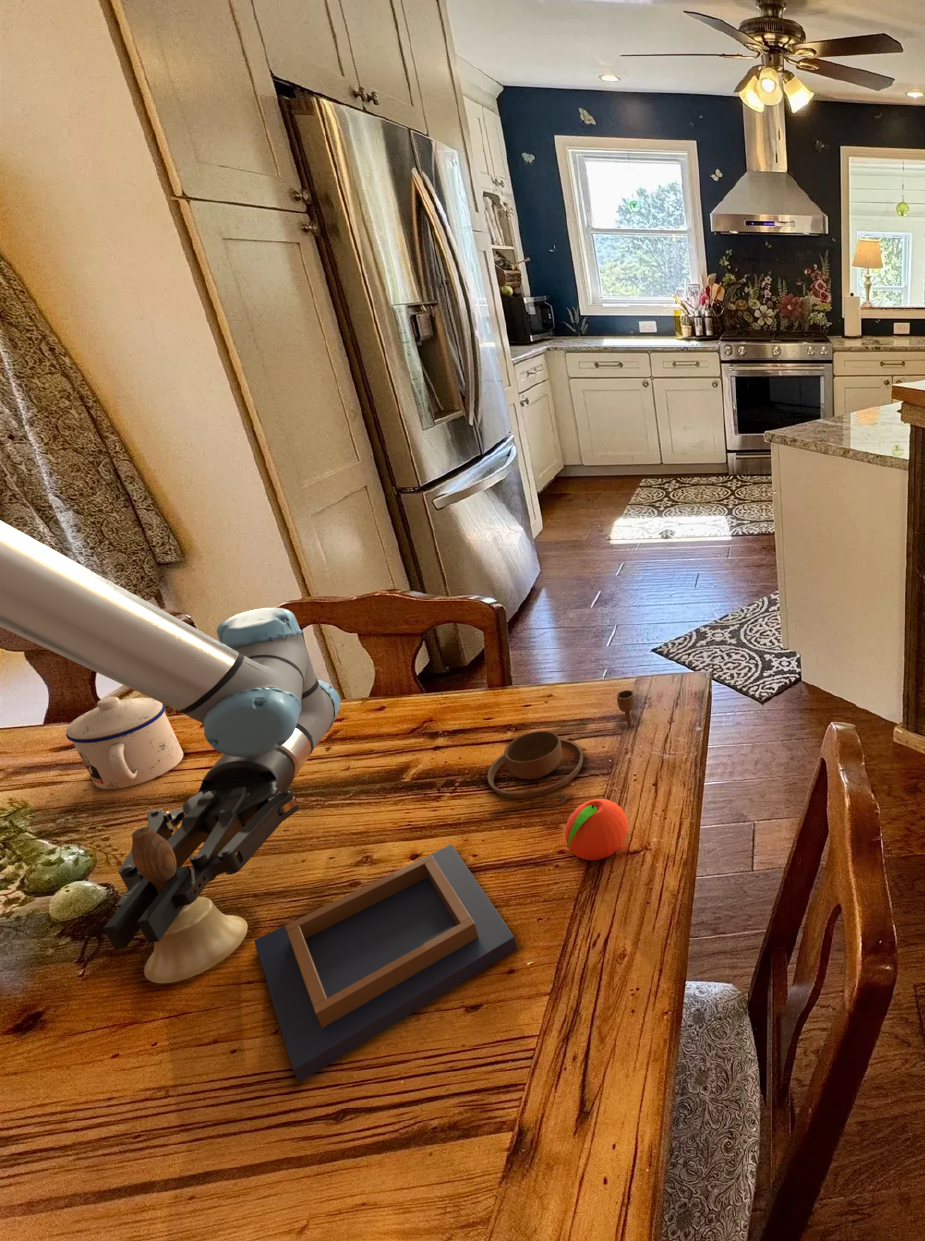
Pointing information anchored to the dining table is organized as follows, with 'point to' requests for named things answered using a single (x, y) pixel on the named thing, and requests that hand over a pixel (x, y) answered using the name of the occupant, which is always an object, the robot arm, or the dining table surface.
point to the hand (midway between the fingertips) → (131, 934)
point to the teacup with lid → (125, 741)
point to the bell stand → (378, 957)
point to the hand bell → (183, 919)
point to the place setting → (544, 756)
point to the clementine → (596, 829)
